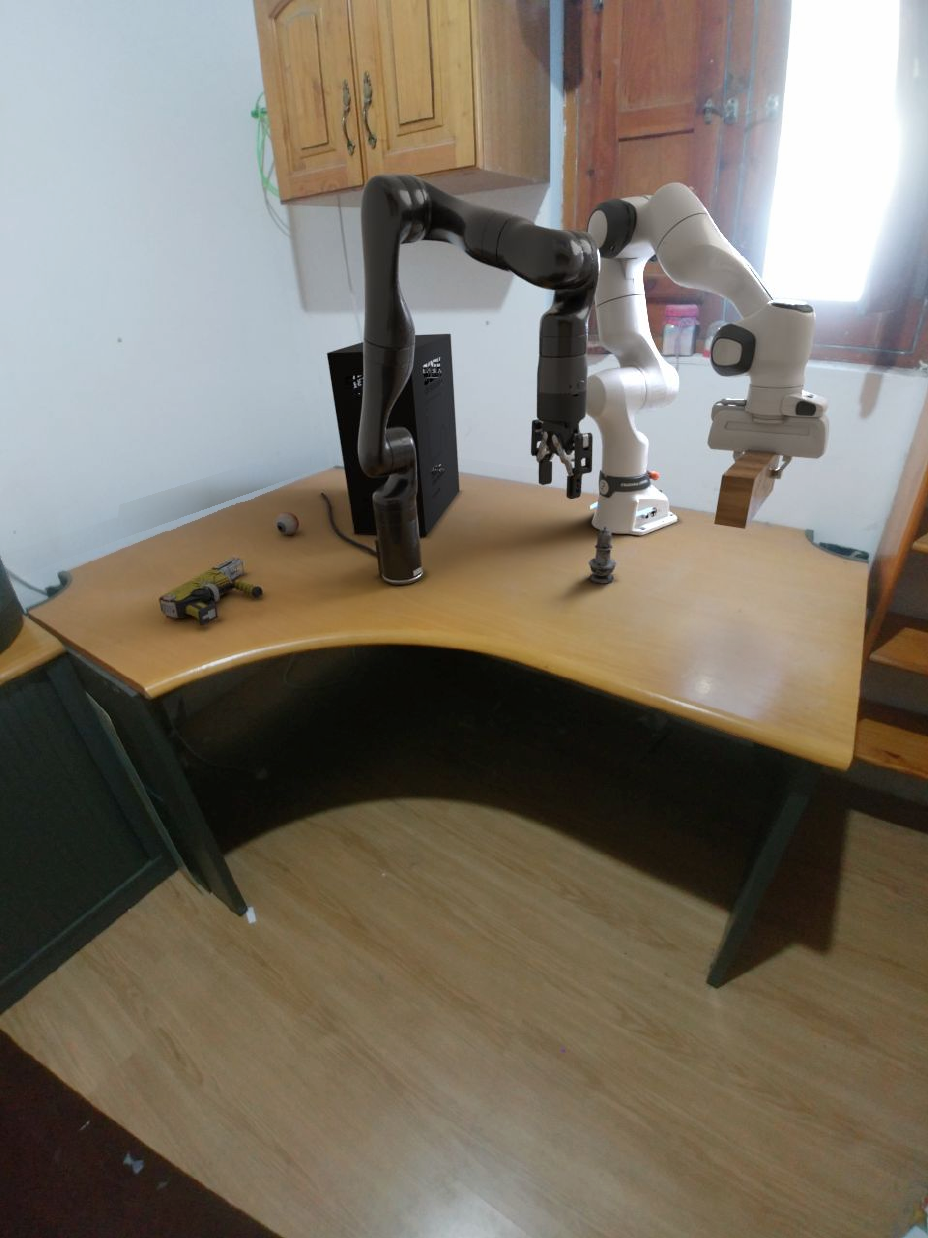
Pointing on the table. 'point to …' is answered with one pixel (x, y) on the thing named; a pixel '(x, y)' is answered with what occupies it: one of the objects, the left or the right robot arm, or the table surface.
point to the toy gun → (205, 592)
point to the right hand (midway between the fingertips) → (758, 476)
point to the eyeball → (287, 523)
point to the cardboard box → (416, 409)
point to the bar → (745, 488)
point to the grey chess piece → (602, 559)
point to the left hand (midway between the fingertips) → (558, 490)
